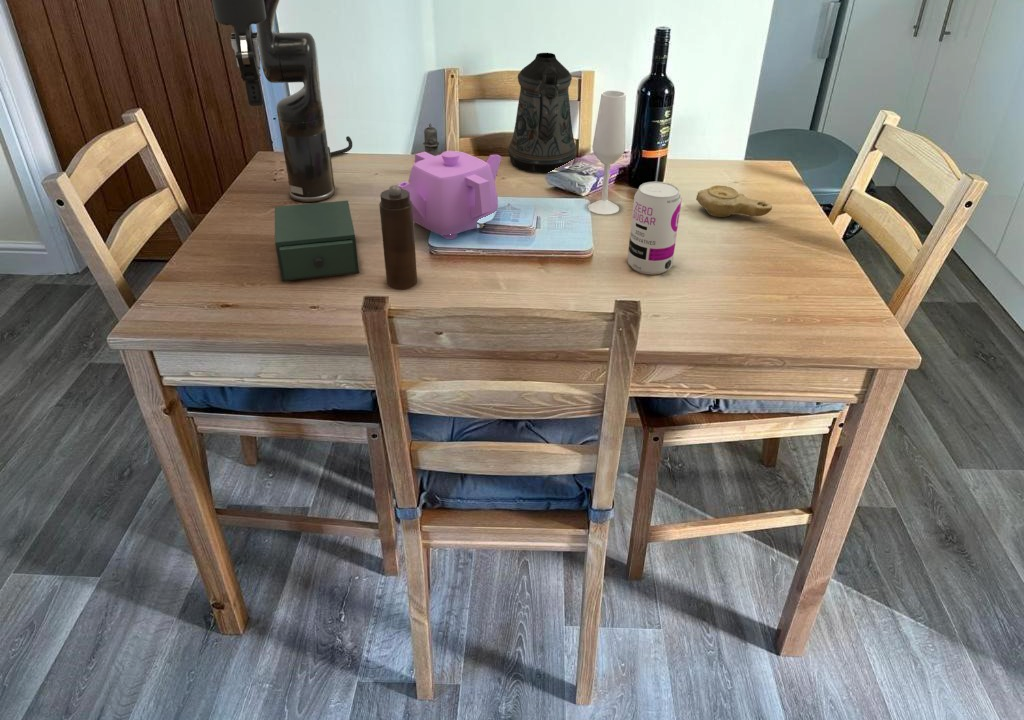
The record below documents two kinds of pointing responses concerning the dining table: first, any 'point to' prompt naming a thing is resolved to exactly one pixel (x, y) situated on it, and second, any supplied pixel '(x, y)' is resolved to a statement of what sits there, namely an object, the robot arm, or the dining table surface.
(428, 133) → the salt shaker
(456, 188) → the teapot
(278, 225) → the cabinet
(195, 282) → the dining table surface
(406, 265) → the pepper mill
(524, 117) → the dark engraved coffee pot
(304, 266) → the drawer
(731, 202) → the oil lamp
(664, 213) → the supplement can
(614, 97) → the champagne flute
